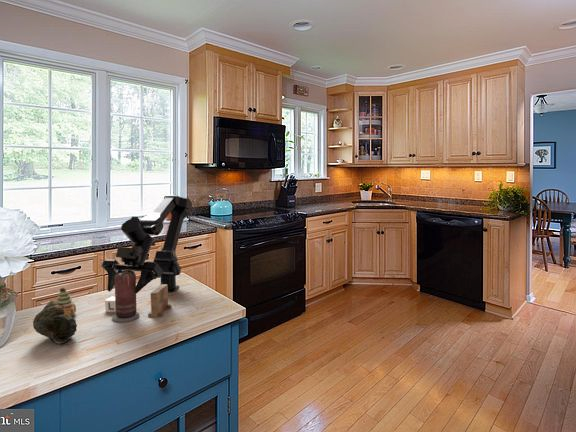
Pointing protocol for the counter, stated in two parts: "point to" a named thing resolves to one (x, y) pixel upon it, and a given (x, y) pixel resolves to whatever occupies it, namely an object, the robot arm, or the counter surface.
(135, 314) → the coaster
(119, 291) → the can
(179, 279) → the counter surface
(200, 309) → the counter surface
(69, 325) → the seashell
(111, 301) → the letter block
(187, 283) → the counter surface
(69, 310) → the ornament
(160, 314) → the screen
